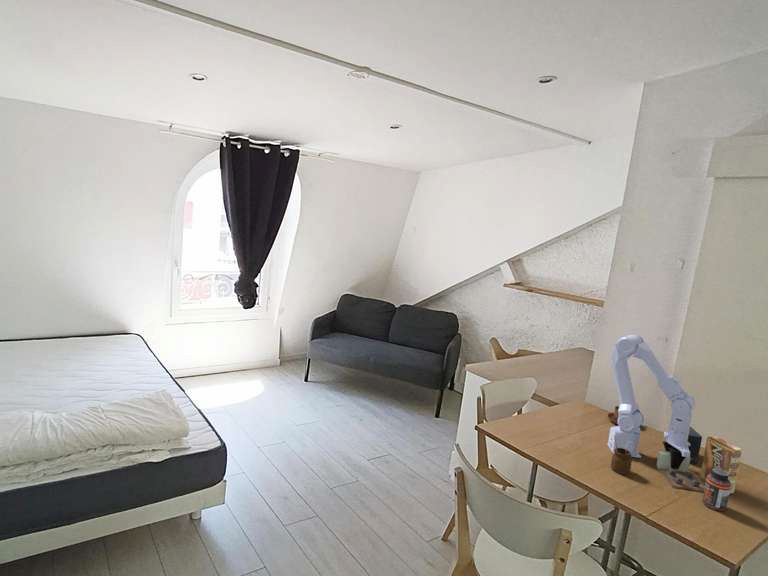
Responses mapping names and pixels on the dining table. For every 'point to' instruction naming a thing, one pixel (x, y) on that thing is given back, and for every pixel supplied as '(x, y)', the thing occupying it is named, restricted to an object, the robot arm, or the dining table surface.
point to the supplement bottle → (717, 490)
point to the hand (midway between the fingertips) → (672, 466)
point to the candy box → (721, 459)
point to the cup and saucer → (614, 415)
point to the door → (665, 462)
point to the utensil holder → (621, 460)
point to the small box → (694, 444)
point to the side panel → (683, 480)
